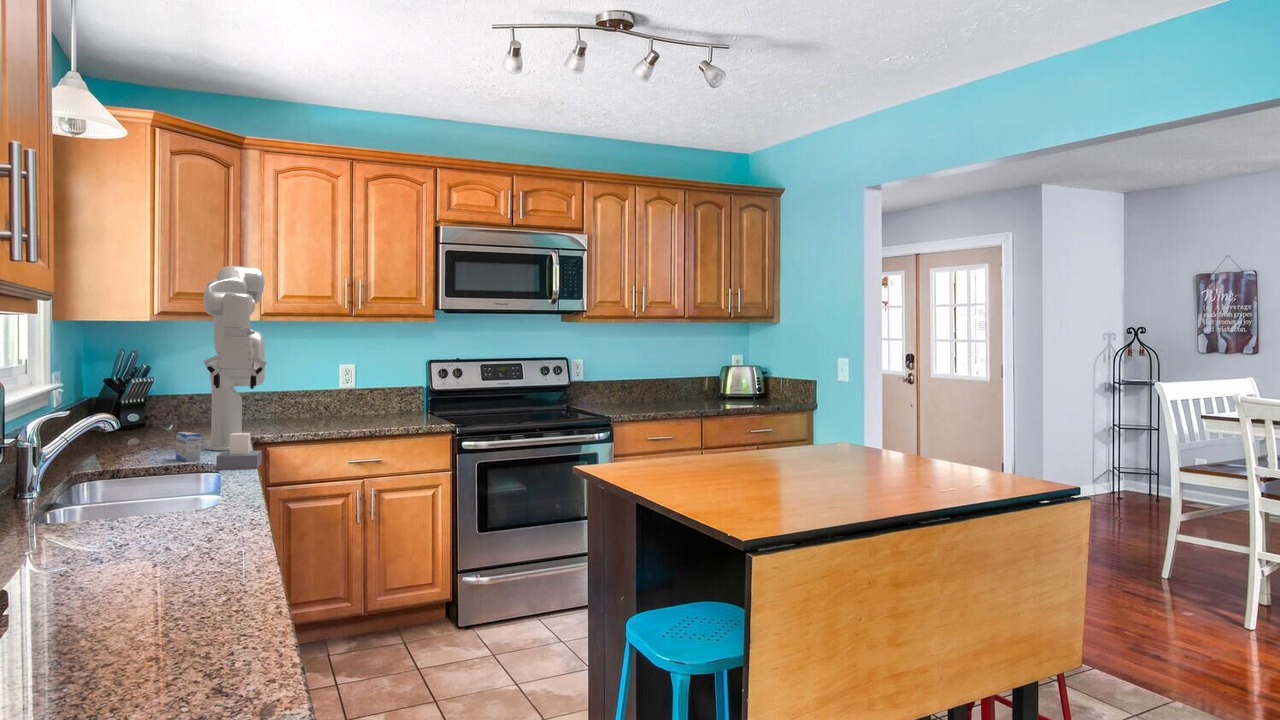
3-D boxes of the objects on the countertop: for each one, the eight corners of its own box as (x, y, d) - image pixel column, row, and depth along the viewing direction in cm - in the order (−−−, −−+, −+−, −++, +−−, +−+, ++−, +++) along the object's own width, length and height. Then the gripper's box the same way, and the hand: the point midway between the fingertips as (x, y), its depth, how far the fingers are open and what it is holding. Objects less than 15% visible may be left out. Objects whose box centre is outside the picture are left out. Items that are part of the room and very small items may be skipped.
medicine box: (175, 459, 251) (175, 432, 251) (190, 458, 255) (190, 431, 255) (185, 462, 247) (186, 434, 246) (200, 460, 250) (201, 433, 250)
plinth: (222, 463, 245) (222, 451, 245) (261, 463, 248) (261, 450, 248) (216, 469, 234) (216, 456, 234) (257, 468, 238) (257, 455, 238)
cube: (232, 452, 243) (232, 432, 243) (250, 452, 244) (250, 432, 244) (229, 454, 238) (229, 434, 238) (247, 454, 240) (248, 434, 240)
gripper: (268, 333, 250) (266, 387, 251) (206, 331, 244) (205, 386, 245) (265, 334, 243) (264, 389, 243) (202, 332, 237) (201, 389, 238)
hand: (234, 388), depth 244 cm, fingers open, 9 cm apart
